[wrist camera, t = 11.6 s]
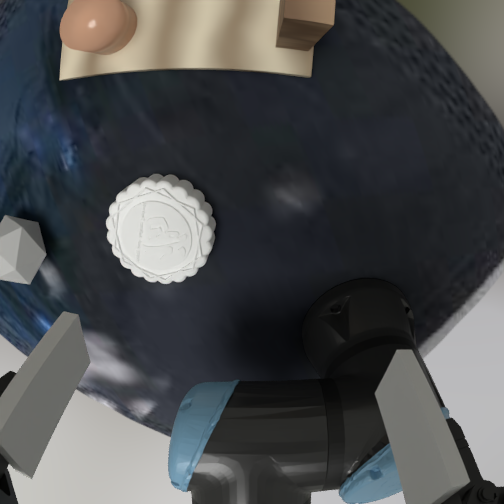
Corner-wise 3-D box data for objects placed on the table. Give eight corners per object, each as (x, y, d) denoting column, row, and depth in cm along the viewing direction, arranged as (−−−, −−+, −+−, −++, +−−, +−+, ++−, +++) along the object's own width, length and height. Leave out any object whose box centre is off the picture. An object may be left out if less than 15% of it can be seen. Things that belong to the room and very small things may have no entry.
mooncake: (204, 281, 38) (199, 298, 35) (112, 257, 37) (101, 271, 34) (227, 187, 33) (224, 197, 30) (122, 162, 32) (108, 170, 28)
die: (12, 199, 34) (-29, 252, 29) (30, 201, 30) (-20, 265, 25) (45, 238, 40) (8, 289, 35) (68, 247, 36) (25, 307, 31)
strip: (315, -10, 23) (345, -63, 11) (308, 77, 27) (338, 63, 16) (75, 1, 22) (6, -22, 11) (66, 80, 27) (-10, 83, 16)
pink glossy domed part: (140, -1, 22) (121, -15, 17) (134, 51, 25) (112, 45, 20) (89, 8, 22) (64, -2, 17) (82, 58, 24) (56, 55, 20)
